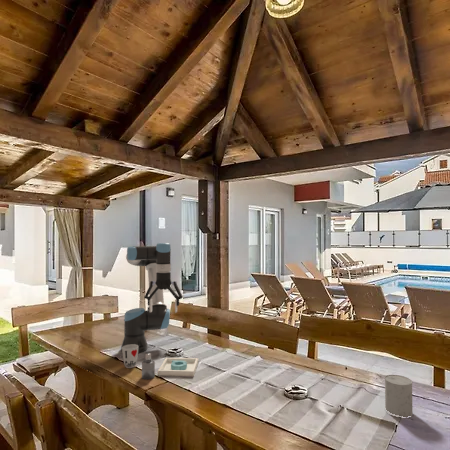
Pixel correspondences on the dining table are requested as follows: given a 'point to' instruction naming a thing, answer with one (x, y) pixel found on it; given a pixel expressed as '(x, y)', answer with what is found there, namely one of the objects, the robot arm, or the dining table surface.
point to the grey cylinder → (398, 395)
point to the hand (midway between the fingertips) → (163, 311)
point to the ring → (178, 365)
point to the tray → (167, 371)
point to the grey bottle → (148, 368)
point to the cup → (130, 355)
